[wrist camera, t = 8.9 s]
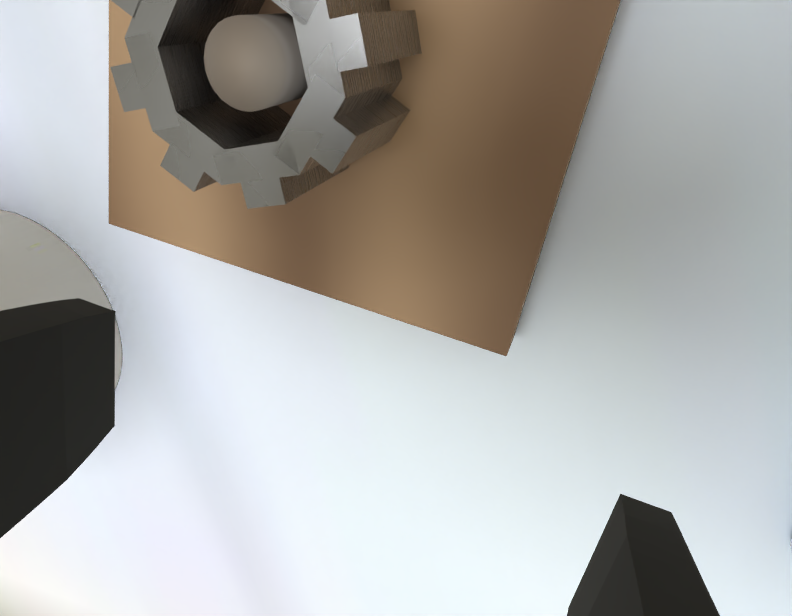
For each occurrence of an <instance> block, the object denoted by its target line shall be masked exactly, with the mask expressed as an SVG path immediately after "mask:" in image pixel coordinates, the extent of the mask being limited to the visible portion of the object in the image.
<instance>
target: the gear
mask: <svg viewBox="0 0 792 616" xmlns="http://www.w3.org/2000/svg"><path fill="white" fill-rule="evenodd" d="M111 1H112V2H114V3H115V4H116V5H118V6H119V7H120V8H121V9H123V10H124V11H125V12H126V13H128V14H129V15H130V16H132V19H131V22H130V25H129V27H128V30H127V32H126V35H125V42H126V45H127V48H128V52H129V55H130V58H131V63H126V64H122V65H117V66H112V67H110V68H111V72H112V75H113V78H114V81H115V85H116V88H117V91H118V94H119V97H120V101H121V104H122V107H123V110H124V112H128V111H133V110H139V109H144V108H146V112H147V115H148V118H149V122H150V125H151V128H152V131H153V132H154V133H156V134H157V135H158V136H159V137H161V138H162V139H163V140H164V141H166V142H167V143H168V144H170V145H169V147H168V150H167V152H166V154H165V156H164V158H163V160H162V163H161V165H160V166H161V167H163V168H164V169H165V170H166V171H168V172H169V173H170V174H172V175H173V176H174V177H175V178H177V179H178V180H179V181H180V182H182V183H183V184H184V185H186V186H187V187H188V188H189V189H191V190H192V191H193V192H195V191H197V190H199V189H201V188H204V187H206V186H208V185H211V184H213V183H215V182H218V183H219V184H221V185H227V184H234V183H241V186H242V190H243V194H244V198H245V202H246V205H247V209H250V208H259V207H267V206H276V205H285V204H287V203H289V202H290V201H292V200H294V199H296V198H297V197H299V196H301V195H303V194H304V193H306V192H308V191H310V190H311V189H313V188H315V187H316V186H318V185H320V184H322V183H323V182H325V181H327V180H329V179H330V178H332V177H334V176H336V175H337V174H339V173H341V172H342V171H344V170H346V169H348V168H349V164H351V163H353V162H354V161H356V160H358V159H360V158H362V157H363V156H365V155H367V154H369V153H370V152H372V151H374V150H376V149H377V148H379V147H381V146H383V145H384V144H386V143H388V142H390V140H391V139H392V137H393V136H394V134H395V133H396V131H397V130H398V128H399V127H400V125H401V124H402V122H403V121H404V119H405V118H406V116H407V115H408V113H409V112H410V110H409V109H408V108H407V107H406V106H404V105H403V104H402V103H401V102H399V101H398V100H397V99H395V98H394V97H393V96H392V94H393V93H394V91H395V90H396V88H397V86H398V85H399V83H400V82H401V80H402V73H401V67H400V61H399V59H401V58H405V57H409V56H413V55H417V54H421V53H422V51H421V44H420V38H419V32H418V26H417V19H416V13H415V10H406V11H391V9H390V3H389V0H272V1H273V2H274V3H276V4H277V5H278V6H279V7H281V8H282V9H283V10H285V11H286V12H287V13H288V14H290V15H291V16H292V17H293V21H294V26H295V31H296V35H297V40H298V44H299V49H300V54H301V58H302V63H303V67H304V72H305V77H306V81H307V86H308V89H307V90H306V92H305V94H304V96H303V97H302V99H301V101H300V103H299V105H298V106H297V108H296V110H295V112H294V114H293V115H292V117H291V116H290V115H289V114H288V113H286V112H285V111H284V110H283V109H281V108H280V107H279V106H277V105H275V106H272V107H269V108H265V109H262V110H258V111H252V112H248V111H241V110H238V109H235V108H233V107H231V106H229V105H228V104H227V103H225V102H224V101H223V100H222V99H221V98H220V97H219V96H218V95H217V94H216V92H215V91H214V90H213V88H212V86H211V84H210V82H209V80H208V77H207V74H206V71H205V65H204V50H205V45H206V41H207V38H208V36H209V34H210V32H211V31H212V29H213V28H214V27H215V26H216V25H217V24H218V23H219V22H220V21H222V20H223V19H225V18H227V17H230V16H235V15H255V14H258V13H259V11H260V9H261V7H262V5H263V3H264V1H265V0H111Z"/></svg>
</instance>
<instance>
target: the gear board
mask: <svg viewBox="0 0 792 616" xmlns="http://www.w3.org/2000/svg"><path fill="white" fill-rule="evenodd" d="M620 1H621V0H389V3H390V9H391V11H406V10H415V13H416V19H417V26H418V32H419V38H420V44H421V51H422V53H421V54H417V55H413V56H409V57H405V58H401V59H399V61H400V67H401V73H402V80H401V82H400V83H399V85H398V86H397V88H396V90H395V91H394V93H393V94H392V96H393V97H394V98H395V99H397V100H398V101H399V102H401V103H402V104H403V105H404V106H406V107H407V108H408V109H409V110H410V112H409V113H408V115H407V116H406V118H405V119H404V121H403V122H402V124H401V125H400V127H399V128H398V130H397V131H396V133H395V134H394V136H393V137H392V139H391V140H390V142H388V143H386V144H384V145H383V146H381V147H379V148H377V149H376V150H374V151H372V152H370V153H369V154H367V155H365V156H363V157H362V158H360V159H358V160H356V161H354V162H353V163H351V164H349V168H348V169H346V170H344V171H342V172H341V173H339V174H337V175H336V176H334V177H332V178H330V179H329V180H327V181H325V182H323V183H322V184H320V185H318V186H316V187H315V188H313V189H311V190H310V191H308V192H306V193H304V194H303V195H301V196H299V197H297V198H296V199H294V200H292V201H290V202H289V203H287V204H285V205H276V206H267V207H259V208H250V209H247V205H246V202H245V198H244V194H243V190H242V186H241V183H234V184H227V185H221V184H219V183H218V182H215V183H213V184H211V185H208V186H206V187H204V188H201V189H199V190H197V191H195V192H193V191H192V190H191V189H189V188H188V187H187V186H186V185H184V184H183V183H182V182H180V181H179V180H178V179H177V178H175V177H174V176H173V175H172V174H170V173H169V172H168V171H166V170H165V169H164V168H163V167H161V166H160V165H161V163H162V160H163V158H164V156H165V154H166V152H167V150H168V147H169V145H170V144H168V143H167V142H166V141H164V140H163V139H162V138H161V137H159V136H158V135H157V134H156V133H154V132H153V131H152V128H151V125H150V122H149V118H148V115H147V112H146V108H144V109H139V110H133V111H128V112H124V110H123V107H122V104H121V101H120V97H119V94H118V91H117V88H116V85H115V81H114V78H113V75H112V72H111V68H110V67H112V66H117V65H122V64H126V63H131V58H130V55H129V52H128V48H127V45H126V42H125V35H126V32H127V30H128V27H129V25H130V22H131V19H132V16H130V15H129V14H128V13H126V12H125V11H124V10H123V9H121V8H120V7H119V6H118V5H116V4H115V3H114V2H112V1H111V0H109V224H112V225H115V226H118V227H121V228H124V229H127V230H130V231H133V232H136V233H139V234H142V235H145V236H148V237H151V238H154V239H157V240H160V241H163V242H166V243H169V244H172V245H175V246H178V247H181V248H184V249H187V250H190V251H193V252H196V253H199V254H202V255H205V256H208V257H211V258H214V259H217V260H220V261H223V262H226V263H229V264H232V265H235V266H238V267H241V268H244V269H247V270H250V271H253V272H256V273H259V274H262V275H265V276H268V277H271V278H274V279H277V280H280V281H283V282H286V283H289V284H292V285H295V286H298V287H301V288H303V289H306V290H309V291H312V292H315V293H318V294H321V295H324V296H327V297H330V298H333V299H336V300H339V301H342V302H345V303H348V304H351V305H354V306H357V307H360V308H363V309H366V310H369V311H372V312H375V313H378V314H381V315H384V316H387V317H390V318H393V319H396V320H399V321H402V322H405V323H408V324H411V325H414V326H417V327H420V328H423V329H426V330H429V331H432V332H435V333H438V334H441V335H444V336H447V337H450V338H453V339H456V340H459V341H462V342H465V343H468V344H471V345H474V346H477V347H480V348H483V349H486V350H489V351H492V352H495V353H498V354H501V355H504V356H507V353H508V351H509V348H510V346H511V343H512V340H513V338H514V335H515V332H516V328H517V325H518V322H519V319H520V316H521V313H522V310H523V306H524V303H525V300H526V297H527V294H528V291H529V288H530V284H531V281H532V278H533V275H534V272H535V269H536V265H537V262H538V259H539V256H540V253H541V250H542V247H543V243H544V240H545V237H546V234H547V231H548V228H549V225H550V221H551V218H552V215H553V212H554V209H555V206H556V203H557V199H558V196H559V193H560V190H561V187H562V184H563V181H564V177H565V174H566V171H567V168H568V165H569V162H570V159H571V155H572V152H573V149H574V146H575V143H576V140H577V136H578V133H579V130H580V127H581V124H582V121H583V118H584V114H585V111H586V108H587V105H588V102H589V99H590V96H591V92H592V89H593V86H594V83H595V80H596V77H597V74H598V70H599V67H600V64H601V61H602V58H603V55H604V52H605V48H606V45H607V42H608V39H609V36H610V33H611V30H612V26H613V23H614V20H615V17H616V14H617V11H618V7H619V4H620ZM204 65H205V71H206V74H207V77H208V80H209V82H210V84H211V86H212V88H213V90H214V91H215V92H216V94H217V95H218V96H219V97H220V98H221V99H222V100H223V101H224V102H225V103H227V104H228V105H229V106H231V107H233V108H235V109H238V110H241V111H248V112H252V111H258V110H262V109H265V108H269V107H272V106H275V105H277V106H279V107H280V108H281V109H283V110H284V111H285V112H286V113H288V114H289V115H290V116H291V117H292V115H293V114H294V112H295V110H296V108H297V106H298V105H299V103H300V101H301V99H302V97H303V96H304V94H305V92H306V90H307V89H308V86H307V81H306V77H305V72H304V67H303V63H302V58H301V54H300V49H299V44H298V40H297V35H296V31H295V26H294V21H293V17H292V16H291V15H290V14H288V13H287V12H286V11H285V10H283V9H282V8H281V7H279V6H278V5H277V4H276V3H274V2H273V1H272V0H265V1H264V3H263V5H262V7H261V9H260V11H259V13H258V14H255V15H235V16H230V17H227V18H225V19H223V20H222V21H220V22H219V23H218V24H217V25H216V26H215V27H214V28H213V29H212V31H211V32H210V34H209V36H208V38H207V41H206V45H205V50H204Z"/></svg>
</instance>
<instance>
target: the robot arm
mask: <svg viewBox="0 0 792 616" xmlns="http://www.w3.org/2000/svg"><path fill="white" fill-rule="evenodd" d="M114 421H115V311H113V310H111V309H108V308H105V307H102V306H100V305H97V304H94V303H91V302H89V301H86V300H83V299H80V298H76V299H66V300H58V301H51V302H45V303H39V304H33V305H28V306H22V307H17V308H12V309H7V310H2V311H0V538H1V537H2V536H3V535H4V534H6V533H7V532H8V531H9V530H10V529H11V528H13V527H14V526H15V525H16V524H17V523H18V522H20V521H21V520H22V519H23V518H24V517H25V516H26V515H28V514H29V513H30V512H31V511H32V510H33V509H34V508H36V507H37V506H38V505H39V504H40V503H41V502H42V501H44V500H45V499H46V498H47V497H48V496H49V495H50V494H52V493H53V492H54V491H55V490H56V489H57V488H58V487H59V486H60V485H61V484H63V483H64V482H65V481H66V480H67V479H68V478H69V477H70V476H71V475H72V474H73V472H74V471H75V470H76V469H77V468H78V467H79V466H80V465H81V464H82V463H83V462H84V461H85V459H86V458H87V457H88V456H89V455H90V454H91V453H92V452H93V450H94V449H95V448H96V447H97V446H98V445H99V443H100V442H101V441H102V440H103V439H104V438H105V436H106V435H107V434H108V433H109V432H110V430H111V429H112V428H113V427H114ZM790 546H791V550H792V539H791V542H790ZM567 616H720V615H719V613H718V611H717V609H716V607H715V605H714V603H713V600H712V598H711V596H710V594H709V592H708V590H707V588H706V586H705V583H704V581H703V579H702V577H701V575H700V573H699V570H698V568H697V566H696V564H695V562H694V560H693V557H692V555H691V553H690V551H689V549H688V546H687V544H686V542H685V540H684V538H683V536H682V533H681V531H680V529H679V527H678V525H677V523H676V521H675V519H674V517H673V515H672V513H671V512H669V511H666V510H663V509H661V508H658V507H655V506H652V505H650V504H647V503H644V502H641V501H639V500H636V499H633V498H630V497H628V496H625V495H622V494H620V496H619V498H618V501H617V503H616V505H615V507H614V509H613V512H612V514H611V516H610V518H609V520H608V522H607V525H606V527H605V529H604V531H603V533H602V536H601V538H600V540H599V542H598V544H597V547H596V549H595V551H594V553H593V555H592V557H591V560H590V562H589V564H588V566H587V568H586V571H585V573H584V575H583V577H582V579H581V582H580V584H579V586H578V588H577V590H576V592H575V595H574V597H573V599H572V601H571V603H570V606H569V608H568V614H567Z"/></svg>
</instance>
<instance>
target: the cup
mask: <svg viewBox="0 0 792 616" xmlns="http://www.w3.org/2000/svg"><path fill="white" fill-rule="evenodd" d="M76 298H80V299H83V300H86V301H89V302H91V303H94V304H97V305H100V306H102V307H105V308H108V309H111V310H112V308H111V305H110V303H109V301H108V299H107V297H106V295H105V293H104V291H103V289H102V288H101V286H100V284H99V283H98V281H97V279H96V278H95V277H94V275H93V274H92V272H91V271H90V270H89V268H88V267H87V266H86V264H85V263H84V262H83V261H82V260H81V259H80V257H79V256H78V255H77V254H76V253H75V252H74V251H73V250H72V249H71V248H70V247H69V246H68V245H67V244H66V243H65V242H63V241H62V240H61V239H60V238H59V237H57V236H56V235H55V234H53V233H52V232H51V231H49V230H48V229H46V228H45V227H43V226H41V225H40V224H38V223H36V222H34V221H32V220H30V219H28V218H26V217H23V216H21V215H18V214H15V213H12V212H8V211H3V210H0V311H2V310H7V309H12V308H17V307H22V306H28V305H33V304H39V303H45V302H51V301H58V300H66V299H76ZM121 366H122V347H121V339H120V333H119V329H118V325H117V322H116V319H115V388H116V386H117V384H118V381H119V377H120V373H121Z"/></svg>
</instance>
